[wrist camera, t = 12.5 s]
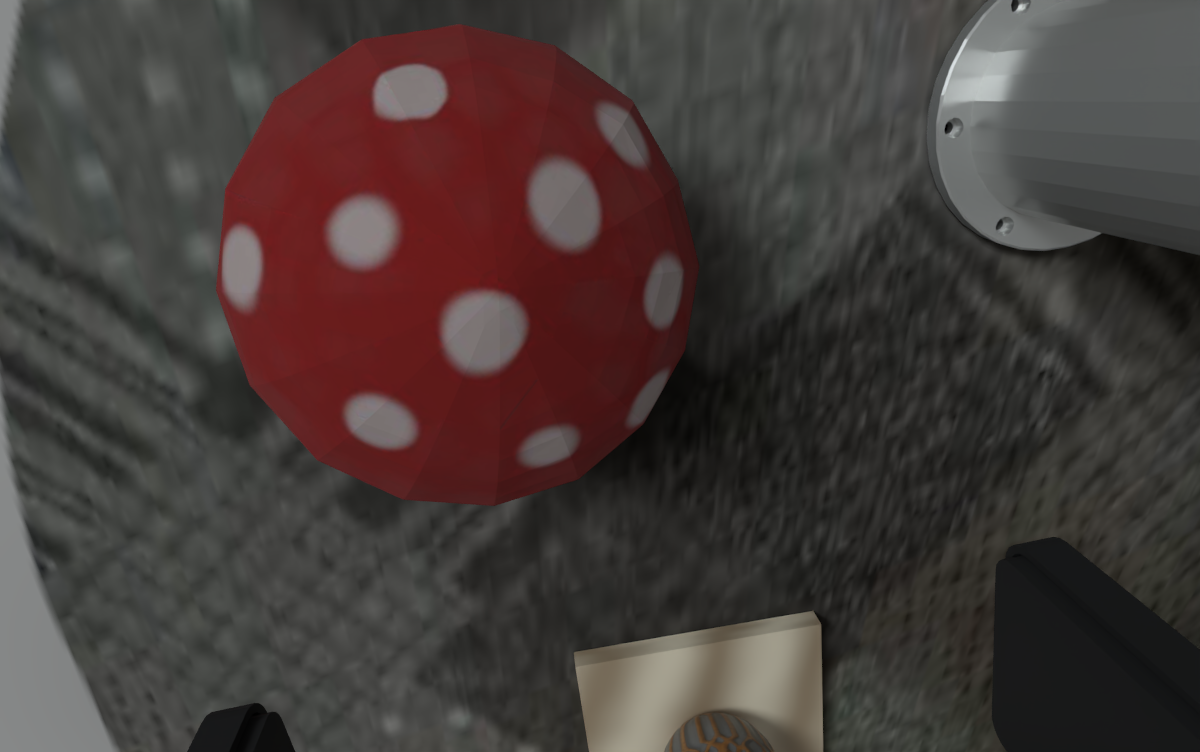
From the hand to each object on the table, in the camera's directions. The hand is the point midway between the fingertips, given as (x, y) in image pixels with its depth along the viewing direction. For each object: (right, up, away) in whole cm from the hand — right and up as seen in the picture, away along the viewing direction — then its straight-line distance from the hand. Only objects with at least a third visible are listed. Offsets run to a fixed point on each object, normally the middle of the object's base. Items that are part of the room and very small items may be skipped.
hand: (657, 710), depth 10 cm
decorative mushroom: (-6, +11, +25) cm, 28 cm away
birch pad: (+5, -17, +36) cm, 40 cm away
